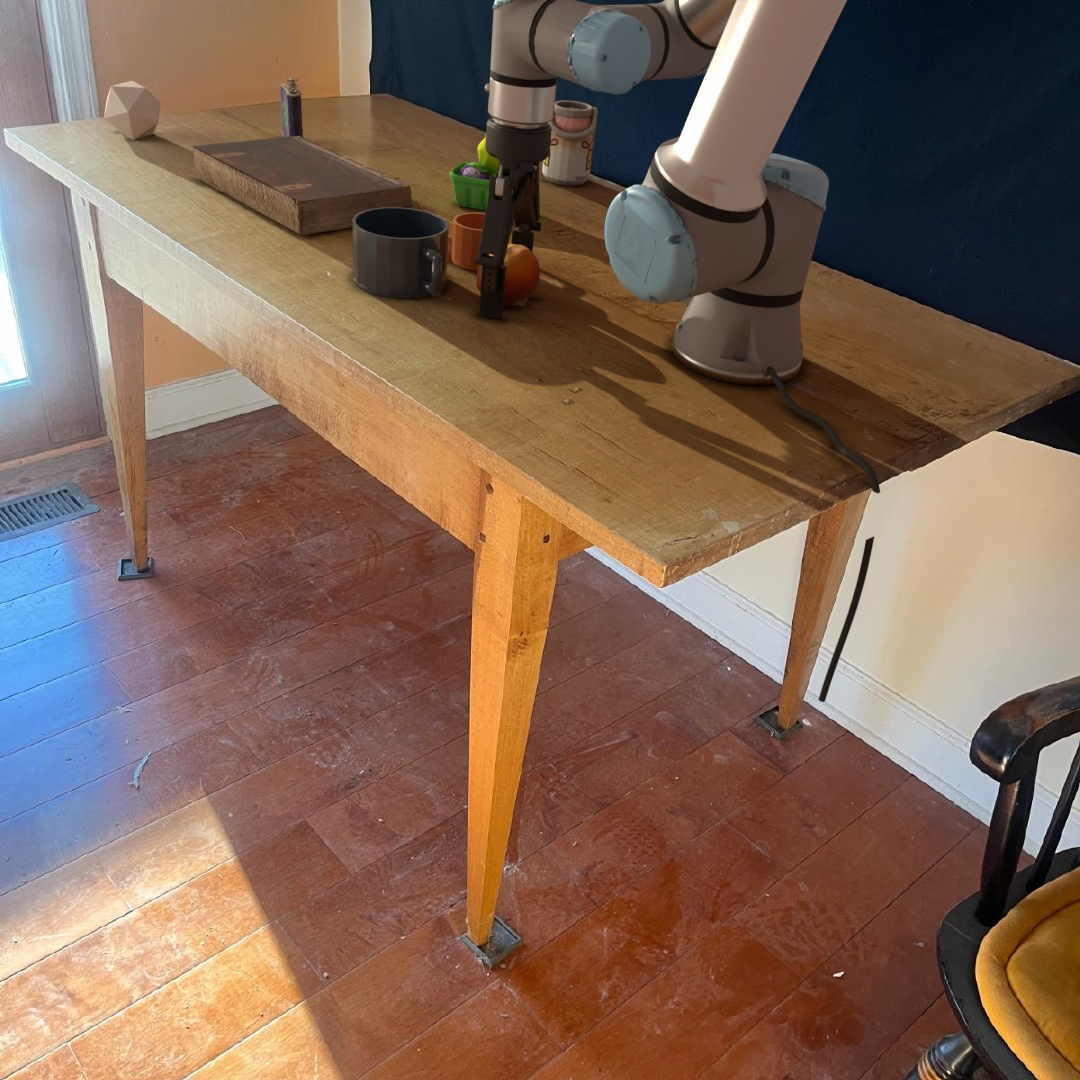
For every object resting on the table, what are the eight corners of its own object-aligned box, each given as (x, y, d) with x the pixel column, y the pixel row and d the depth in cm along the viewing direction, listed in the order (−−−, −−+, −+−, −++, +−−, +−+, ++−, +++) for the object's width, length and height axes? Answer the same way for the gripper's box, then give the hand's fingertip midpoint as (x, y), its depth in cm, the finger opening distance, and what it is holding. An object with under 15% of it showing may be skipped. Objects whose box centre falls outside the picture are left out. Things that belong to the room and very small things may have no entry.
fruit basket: (446, 206, 158) (449, 130, 152) (463, 191, 165) (466, 117, 159) (517, 219, 157) (524, 142, 150) (531, 203, 164) (538, 129, 157)
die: (172, 144, 173) (171, 86, 174) (131, 124, 165) (130, 63, 166) (135, 154, 177) (133, 97, 177) (92, 135, 169) (91, 75, 169)
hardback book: (410, 217, 153) (411, 182, 150) (301, 238, 141) (300, 201, 138) (301, 164, 169) (300, 133, 166) (196, 179, 157) (192, 146, 155)
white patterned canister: (590, 191, 172) (599, 115, 165) (540, 185, 172) (547, 110, 165) (589, 175, 180) (597, 102, 173) (541, 170, 179) (548, 97, 172)
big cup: (336, 270, 133) (335, 212, 129) (417, 258, 139) (418, 203, 135) (394, 315, 123) (395, 254, 119) (478, 300, 129) (482, 241, 125)
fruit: (546, 307, 126) (518, 247, 122) (490, 329, 129) (460, 271, 125) (558, 284, 132) (531, 226, 129) (504, 305, 135) (477, 250, 132)
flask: (280, 137, 181) (278, 71, 175) (297, 137, 182) (295, 72, 176) (289, 152, 174) (287, 84, 168) (307, 152, 175) (305, 85, 169)
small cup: (489, 275, 137) (492, 234, 133) (442, 262, 139) (443, 222, 136) (522, 253, 144) (525, 214, 141) (476, 242, 147) (479, 203, 143)
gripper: (516, 94, 128) (503, 261, 141) (454, 138, 109) (445, 328, 121) (575, 103, 127) (556, 271, 140) (523, 150, 108) (507, 340, 120)
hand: (505, 297), depth 130 cm, fingers open, 12 cm apart
